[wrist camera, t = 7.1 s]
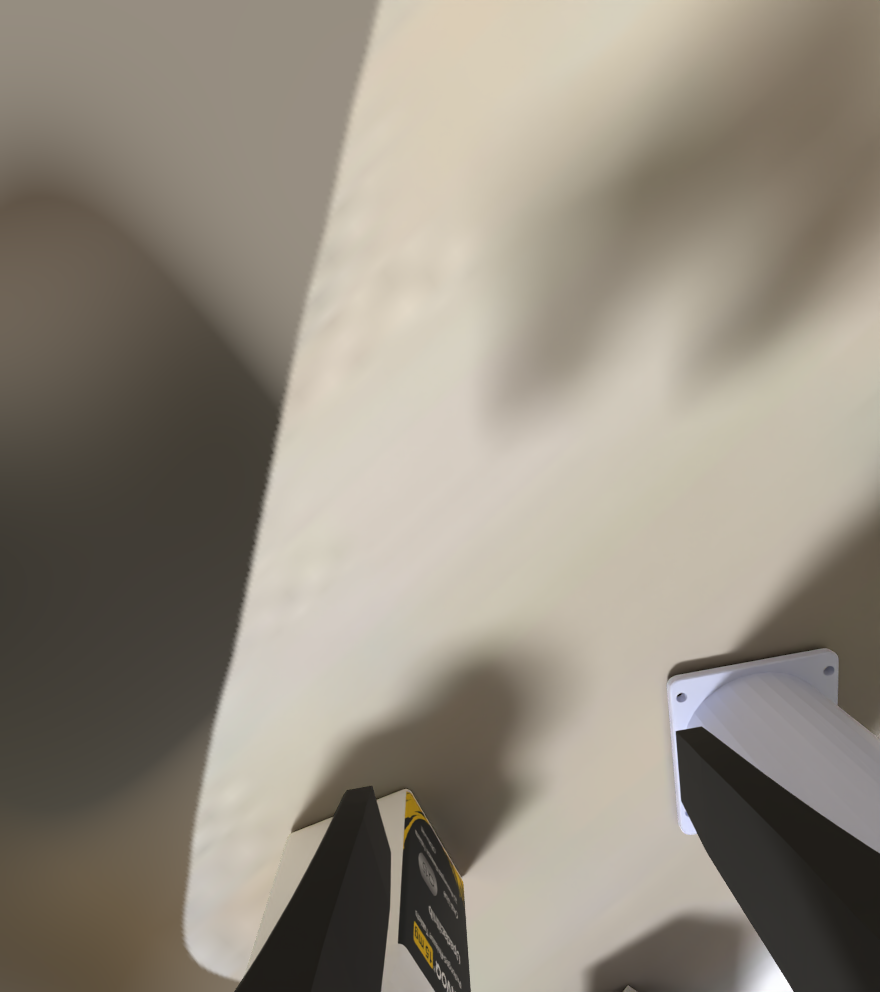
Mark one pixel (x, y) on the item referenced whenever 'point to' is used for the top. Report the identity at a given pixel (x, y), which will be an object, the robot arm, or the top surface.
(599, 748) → the top surface
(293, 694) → the top surface
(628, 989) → the die
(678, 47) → the top surface
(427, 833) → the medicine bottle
